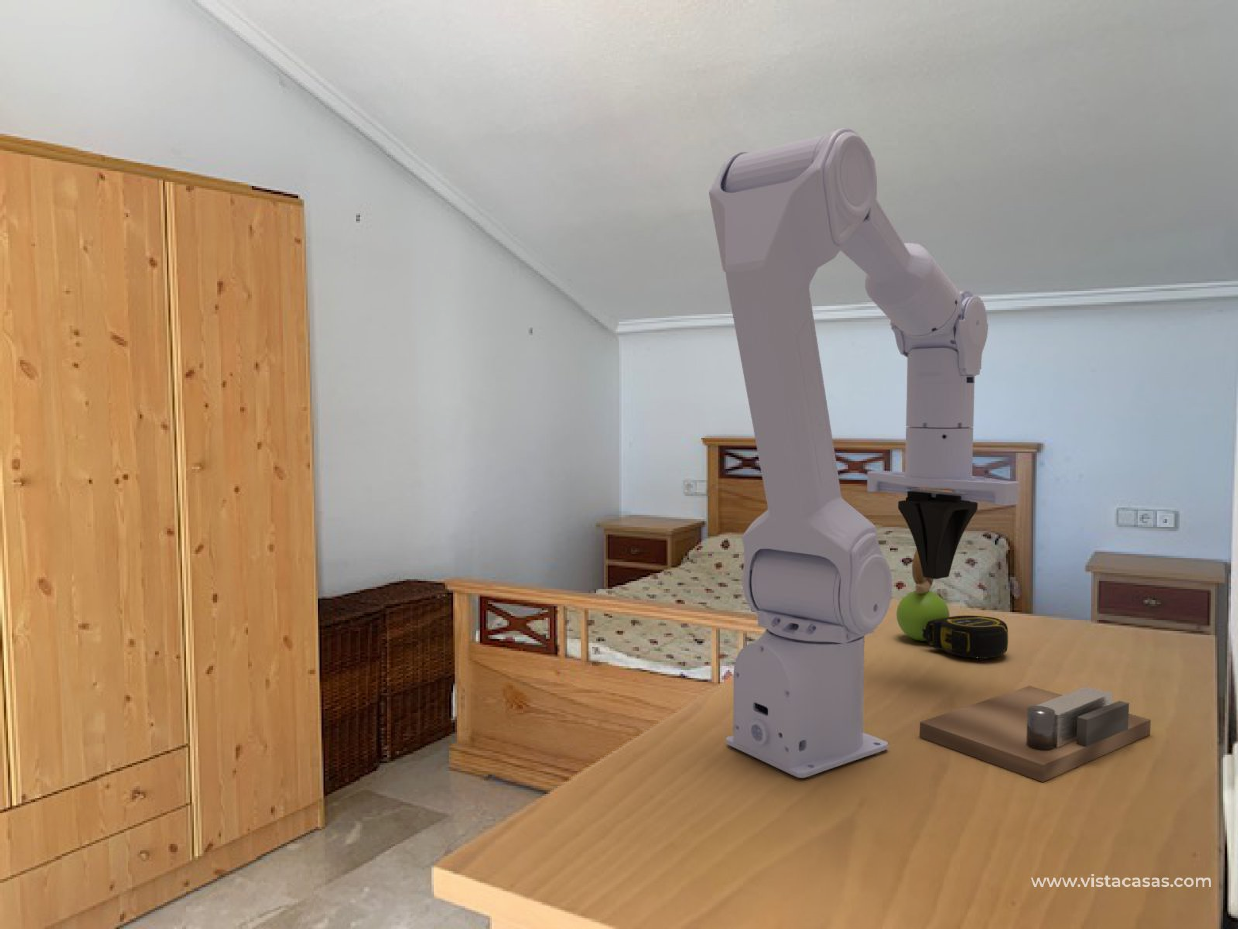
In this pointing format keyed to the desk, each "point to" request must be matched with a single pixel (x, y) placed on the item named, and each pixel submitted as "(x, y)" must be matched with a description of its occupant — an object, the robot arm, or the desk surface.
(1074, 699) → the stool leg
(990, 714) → the walnut board
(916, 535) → the robot arm
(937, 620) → the tape measure
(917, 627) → the snail figurine
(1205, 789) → the desk surface
